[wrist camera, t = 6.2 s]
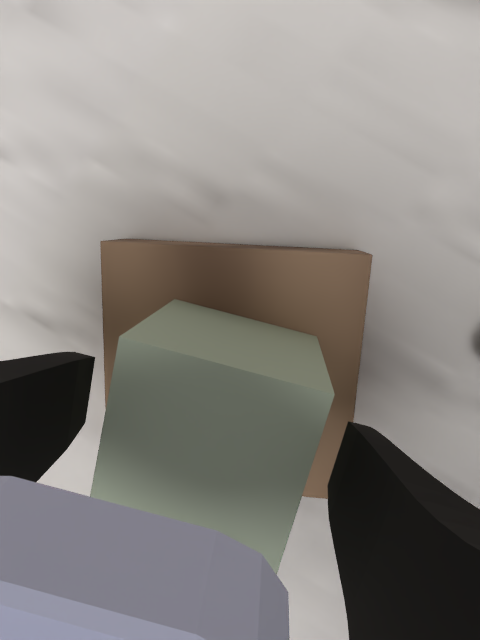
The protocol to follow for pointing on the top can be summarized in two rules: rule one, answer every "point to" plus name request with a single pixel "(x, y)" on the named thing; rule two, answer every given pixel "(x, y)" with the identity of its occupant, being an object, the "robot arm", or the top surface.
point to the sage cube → (214, 423)
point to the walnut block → (250, 306)
